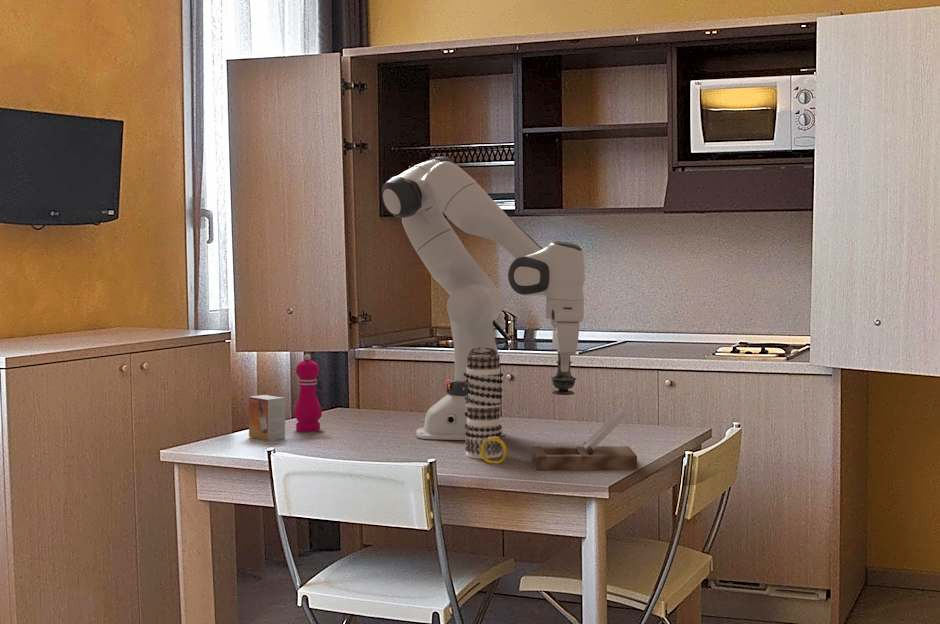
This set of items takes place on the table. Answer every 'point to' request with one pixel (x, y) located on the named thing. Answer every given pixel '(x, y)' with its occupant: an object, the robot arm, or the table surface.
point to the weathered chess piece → (563, 380)
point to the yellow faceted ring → (496, 438)
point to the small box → (267, 417)
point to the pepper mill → (307, 397)
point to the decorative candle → (483, 402)
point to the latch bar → (605, 429)
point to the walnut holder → (584, 458)
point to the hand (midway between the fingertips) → (563, 370)
